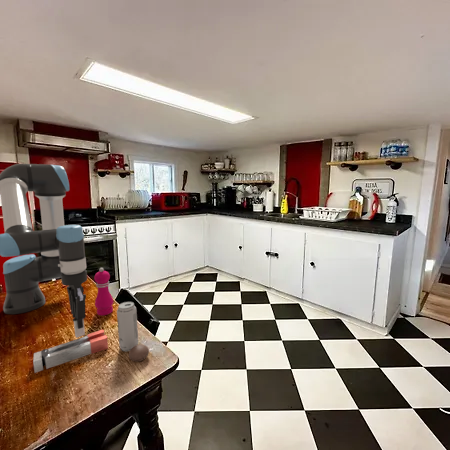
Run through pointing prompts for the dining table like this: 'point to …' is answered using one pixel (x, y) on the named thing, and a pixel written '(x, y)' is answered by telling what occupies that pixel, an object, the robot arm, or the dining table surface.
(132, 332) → the energy drink can
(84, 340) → the tongs arm
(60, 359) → the tongs fixed
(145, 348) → the egg
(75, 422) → the dining table surface
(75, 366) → the dining table surface
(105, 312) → the pepper mill
